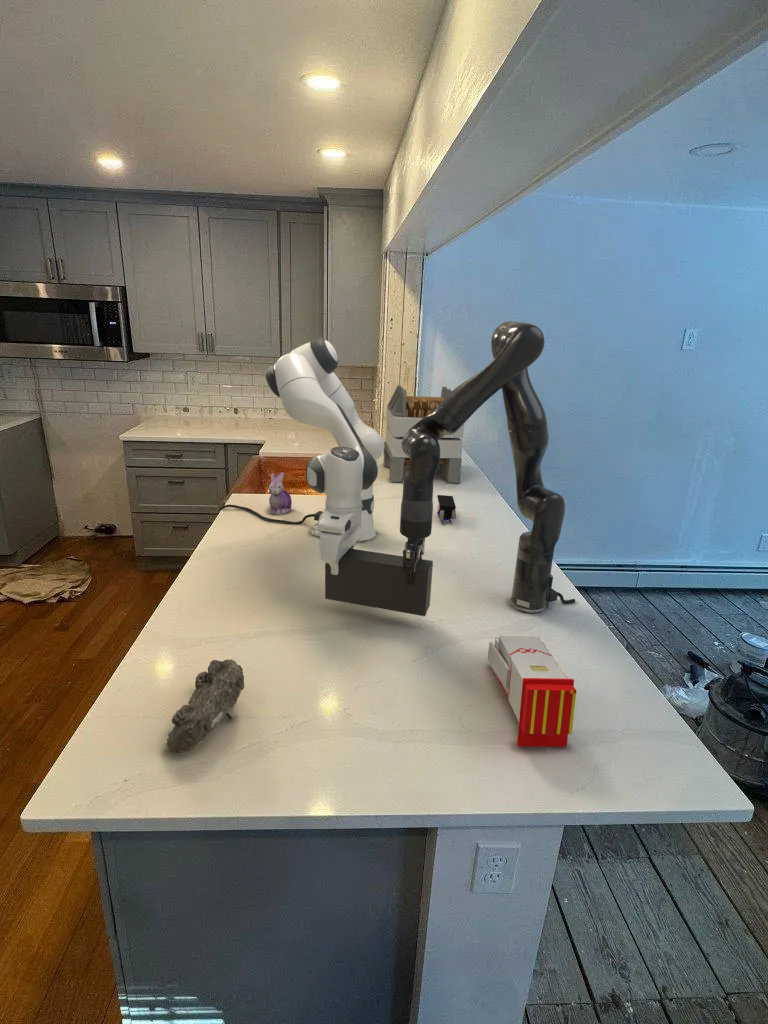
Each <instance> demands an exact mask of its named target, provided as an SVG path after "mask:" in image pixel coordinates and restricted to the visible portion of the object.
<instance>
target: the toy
mask: <svg viewBox="0 0 768 1024" xmlns="http://www.w3.org/2000/svg"><path fill="white" fill-rule="evenodd" d="M488 643H489V644H488V651H487V658H486V659H487V662H488V664H489V666H490V668H491V669H492V672H493V674H494V675H495V677H496V679H497V681H498V682H499V684H500V687H501V688H502V691H503V692H504V694H505V697H507V699H508V702H509V705H510V706H511V709H512V710H513V713H514V714H515V717H516V720H517V721H518V728H517V729H518V730H517V741H516V746H517V747H520V748H521V747H522V748H523V747H525V748H527V747H529V748H531V747H532V748H533V747H534V748H545V747H546V748H567V747H568V740H569V735H572V733H573V725H574V716H575V708H576V700H577V689H576V687H575V686H574V685H575V679H574V678H569V677H568V676H567V675H566V673H565V672H564V670H563V669H562V668H561V667H560V665H559V663H558V662H557V661H556V659H555V658H554V656H553V654H552V653H551V652H550V650H549V649H548V648H547V646H546V644H545V642H544V641H543V640H542V639H541V638H540V636H534V635H533V636H532V635H530V636H527V635H526V636H525V635H524V636H523V635H498V637H497V636H496V637H494V643H493V641H489V642H488Z"/></svg>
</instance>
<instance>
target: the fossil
mask: <svg viewBox="0 0 768 1024" xmlns="http://www.w3.org/2000/svg"><path fill="white" fill-rule="evenodd" d="M243 670H244V669H243V667H242V665H240V664H237V662H236V661H235V660H234V659H232V658H231V659H227V658H226V659H224V660H223V661H222V660H217V659H212V660H211V661H210V663H209V665H208V666H207V671H201V672H199V673H198V674H197V675H196V676H195V680H194V684H195V685H194V687H195V689H194V690H193V693H192V694H191V697H190V698H189V700H188V704H184V705H182V706H181V707H180V709H177V710H176V711H175V713H174V715H173V716H172V718H171V723H172V724H173V727H172V730H171V731H170V732H168V734H167V738H166V741H167V742H166V745H167V749H168V750H169V751H173V752H174V753H176V754H178V753H182V752H188V751H189V752H192V751H193V750H195V748H196V747H197V746H199V744H200V743H201V742H203V741H204V740H205V739H206V738H207V737H208V736H209V735H210V734H211V733H212V732H214V730H215V729H217V727H218V726H219V724H220V722H221V721H222V720H223V719H224V718H225V716H226V717H227V719H229V720H233V717H232V715H230V714H229V710H230V709H231V708H234V706H235V704H236V703H237V702H238V699H239V697H240V695H241V693H242V691H243V690H245V689H244V688H245V675H244V671H243Z"/></svg>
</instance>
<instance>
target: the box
mask: <svg viewBox="0 0 768 1024" xmlns="http://www.w3.org/2000/svg"><path fill="white" fill-rule="evenodd" d="M414 559H416V558H414ZM338 565H339V566H340V572H339V573H338V574H337V575H334V574H331V567H330V564H328V563H324V572H325V573H324V589H325V590H324V599H325V600H331V601H337V602H341V603H346V604H351V605H352V604H353V605H357V606H358V605H359V606H363V607H368V608H369V607H370V608H374V609H380V610H387V611H392V612H398V613H404V614H410V615H415V616H421V617H426V616H427V612H428V610H429V608H430V606H431V596H432V581H433V567H434V561H433V560H431V559H423V558H422V559H419V562H418V563H416V571H415V581H414V585H413V586H408V585H405V572H403V555H397V554H391V553H384V552H376V551H370V550H365V549H364V550H363V549H357V548H354V549H351V548H350V549H349V550H348V551H347V552H346V553H345V554H344V555H343V556H342V557H341V558H340V560H339V562H338ZM408 566H409V567H411V565H408Z"/></svg>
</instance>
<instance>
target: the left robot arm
mask: <svg viewBox="0 0 768 1024" xmlns="http://www.w3.org/2000/svg"><path fill="white" fill-rule="evenodd" d="M338 365H339V359H338V354H337V350H336V349H335V347H334V345H333V344H332V343H331V342H329V341H328V340H327V338H324V337H321V336H320V337H316V338H313V339H310V340H309V342H307V343H304V344H302V345H300V346H298V347H295V348H294V349H293V350H291V351H290V352H289V353H286V354H284V355H281V356H280V357H279V358H278V359H277V361H276V362H273V363H272V364H271V365H270V366H269V367H268V368H267V370H266V373H265V381H266V383H267V385H268V387H269V389H270V390H271V391H272V393H273V394H274V395H275V396H276V397H278V398H280V400H281V404H282V406H283V410H285V412H286V414H287V415H288V417H290V419H293V420H294V421H296V422H298V423H301V424H303V425H309V426H314V427H317V428H321V429H324V430H326V431H328V432H330V434H331V436H332V438H333V439H334V441H335V443H336V444H337V446H335V447H333V448H331V449H329V451H328V452H327V453H324V454H323V453H322V454H318V455H315V456H312V457H311V458H310V459H309V461H308V462H307V464H306V466H305V480H306V484H307V486H308V487H309V488H310V489H312V490H313V491H314V492H315V493H318V494H323V495H325V496H326V498H325V507H324V510H318V511H317V512H315V513H309V514H307V515H304V517H303V518H302V520H299V521H289V520H285V519H275V518H269V517H266V516H264V515H262V514H260V513H259V512H257V511H255V510H253V509H251V508H249V507H246V506H242V505H241V506H240V505H236V504H225V505H223V506H221V507H220V508H219V511H222V510H224V509H226V508H234V509H239V510H243V511H244V510H245V511H247V512H249V513H252V514H254V515H255V516H257V517H258V518H259V519H262V520H263V521H268V522H271V523H281V524H287V525H302V524H303V523H305V522H306V520H307V519H308V518H313V520H314V521H316V522H317V523H315V524H314V525H313V526H312V528H311V530H310V533H311V536H315V537H319V556H320V557H319V558H320V560H321V562H322V563H324V564H325V563H328V564H330V567H331V574H334V575H337V574H338V573H339V572H340V566H339V565H338V562H339V560H340V558H341V557H342V556H343V555H344V554H345V553H346V552H347V551H348V550H349V549H350V548H351V549H355V545H356V543H357V542H365V541H368V540H372V539H373V538H375V537H376V535H377V532H376V528H375V523H374V513H373V512H374V509H375V496H374V482H375V481H376V480H377V478H378V475H379V468H378V464H377V463H378V460H379V459H380V458H381V457H382V455H383V454H384V442H385V440H384V439H383V437H382V436H381V434H380V433H379V432H378V431H377V430H376V429H374V428H373V427H371V426H369V425H367V424H366V423H364V421H362V420H361V418H360V416H359V413H358V411H357V409H356V407H355V402H354V401H353V399H352V397H351V395H350V394H349V392H348V391H347V389H346V388H345V386H344V385H343V384H342V382H341V380H340V379H339V378H338V376H337V375H336V374H335V372H334V371H335V370H336V369H337V367H338Z"/></svg>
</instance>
